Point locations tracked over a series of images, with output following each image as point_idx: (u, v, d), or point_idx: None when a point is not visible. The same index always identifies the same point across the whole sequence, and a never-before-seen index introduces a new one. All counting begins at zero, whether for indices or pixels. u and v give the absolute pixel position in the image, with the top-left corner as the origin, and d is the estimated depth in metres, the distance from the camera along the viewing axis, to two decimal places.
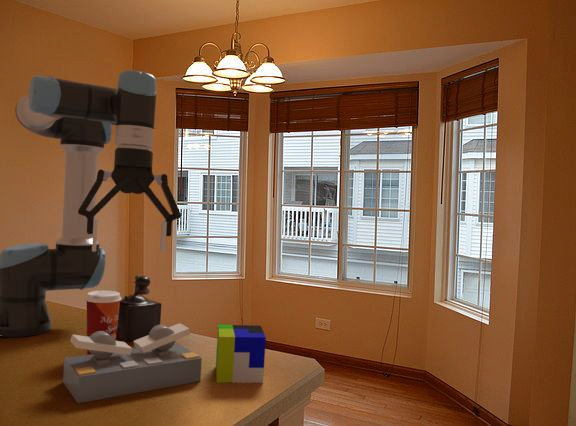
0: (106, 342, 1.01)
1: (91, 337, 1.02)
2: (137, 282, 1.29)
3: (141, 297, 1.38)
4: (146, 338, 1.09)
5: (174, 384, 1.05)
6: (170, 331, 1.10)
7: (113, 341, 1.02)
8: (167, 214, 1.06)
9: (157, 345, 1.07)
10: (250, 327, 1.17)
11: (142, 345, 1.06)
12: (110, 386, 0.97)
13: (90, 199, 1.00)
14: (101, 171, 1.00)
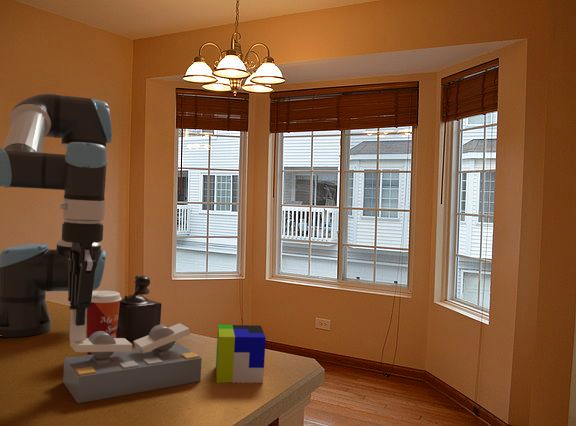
0: (105, 342, 1.01)
1: (90, 339, 1.02)
2: (137, 282, 1.29)
3: (141, 297, 1.38)
4: (146, 338, 1.09)
5: (174, 384, 1.05)
6: (170, 331, 1.10)
7: (112, 340, 1.02)
8: (74, 301, 0.98)
9: (157, 345, 1.07)
10: (250, 327, 1.17)
11: (142, 345, 1.06)
12: (110, 386, 0.97)
13: (69, 283, 1.02)
14: (68, 254, 1.03)
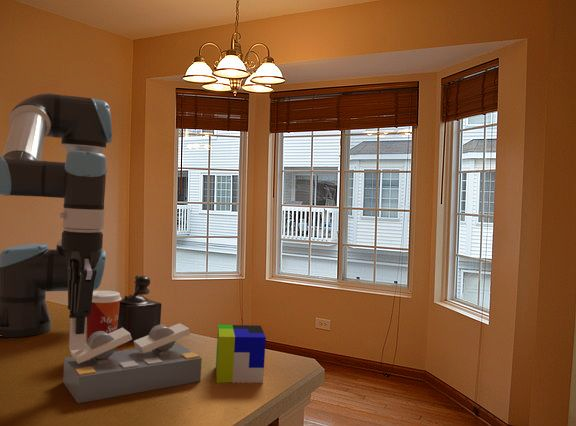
0: (103, 342, 1.01)
1: (88, 344, 1.02)
2: (137, 282, 1.29)
3: (141, 297, 1.38)
4: (146, 338, 1.09)
5: (174, 384, 1.05)
6: (170, 331, 1.10)
7: (109, 337, 1.02)
8: (74, 310, 0.98)
9: (157, 345, 1.07)
10: (250, 327, 1.17)
11: (142, 345, 1.06)
12: (110, 386, 0.97)
13: (69, 292, 1.02)
14: (67, 262, 1.03)
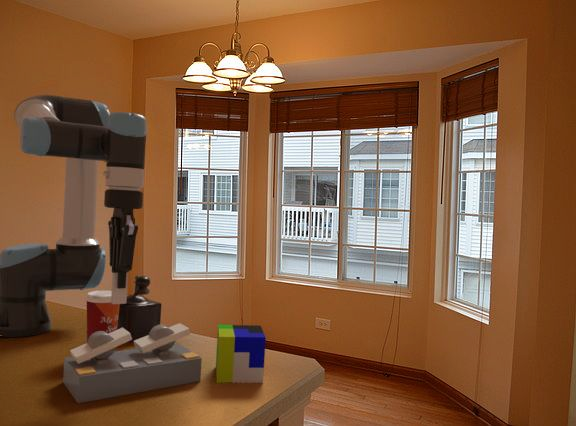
0: (103, 342, 1.01)
1: (88, 344, 1.02)
2: (137, 282, 1.29)
3: (141, 297, 1.38)
4: (146, 338, 1.09)
5: (174, 384, 1.05)
6: (170, 331, 1.10)
7: (109, 337, 1.02)
8: (116, 265, 1.02)
9: (157, 345, 1.07)
10: (250, 327, 1.17)
11: (142, 345, 1.06)
12: (110, 386, 0.97)
13: (110, 249, 1.06)
14: (109, 222, 1.08)
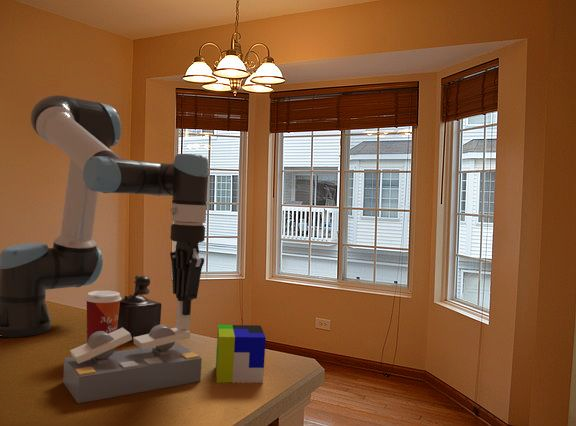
0: (103, 342, 1.01)
1: (88, 344, 1.02)
2: (137, 282, 1.29)
3: (141, 297, 1.38)
4: (146, 336, 1.09)
5: (174, 384, 1.05)
6: (171, 332, 1.10)
7: (109, 337, 1.02)
8: (182, 294, 1.11)
9: (157, 344, 1.07)
10: (250, 327, 1.17)
11: (142, 341, 1.06)
12: (110, 386, 0.97)
13: (174, 278, 1.15)
14: (171, 252, 1.17)
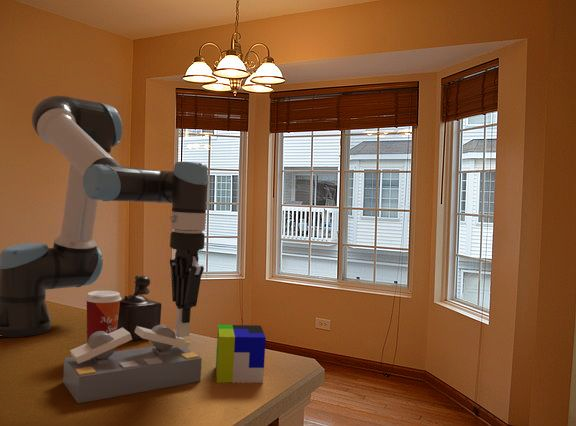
0: (103, 342, 1.01)
1: (88, 344, 1.02)
2: (137, 282, 1.29)
3: (141, 297, 1.38)
4: (149, 330, 1.10)
5: (174, 384, 1.05)
6: (173, 335, 1.10)
7: (109, 337, 1.02)
8: (182, 301, 1.11)
9: (157, 339, 1.07)
10: (250, 327, 1.17)
11: (145, 331, 1.06)
12: (110, 386, 0.97)
13: (173, 286, 1.15)
14: (170, 260, 1.17)
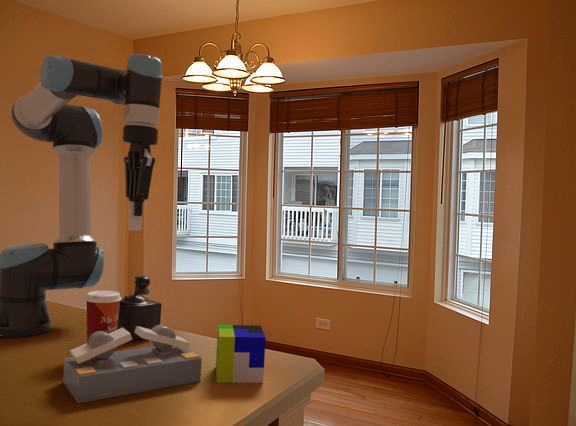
0: (103, 342, 1.01)
1: (88, 344, 1.02)
2: (137, 282, 1.29)
3: (141, 297, 1.38)
4: (149, 330, 1.10)
5: (174, 384, 1.05)
6: (173, 335, 1.10)
7: (109, 337, 1.02)
8: (134, 194, 1.12)
9: (157, 339, 1.07)
10: (250, 327, 1.17)
11: (145, 331, 1.06)
12: (110, 386, 0.97)
13: (127, 182, 1.16)
14: (125, 157, 1.18)
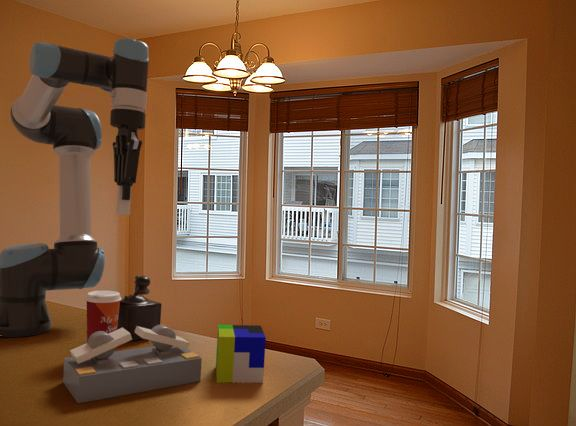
0: (103, 342, 1.01)
1: (88, 344, 1.02)
2: (137, 282, 1.29)
3: (141, 297, 1.38)
4: (149, 330, 1.10)
5: (174, 384, 1.05)
6: (173, 335, 1.10)
7: (109, 337, 1.02)
8: (121, 178, 1.12)
9: (157, 339, 1.07)
10: (250, 327, 1.17)
11: (145, 331, 1.06)
12: (110, 386, 0.97)
13: (115, 167, 1.16)
14: (113, 143, 1.18)
